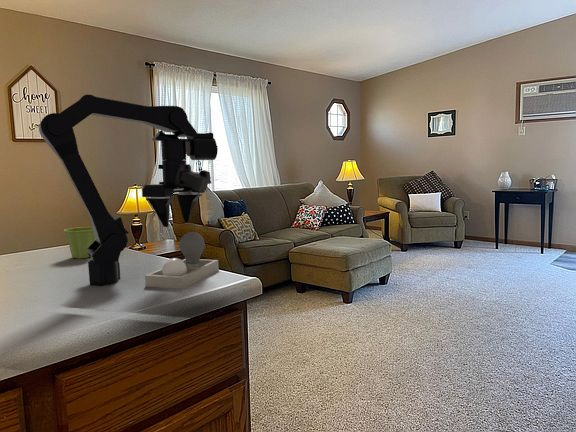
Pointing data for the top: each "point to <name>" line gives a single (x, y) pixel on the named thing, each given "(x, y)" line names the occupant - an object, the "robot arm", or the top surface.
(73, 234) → the plant pot
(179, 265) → the ceramic egg
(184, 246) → the light bulb
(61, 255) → the top surface
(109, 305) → the top surface
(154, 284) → the tray
